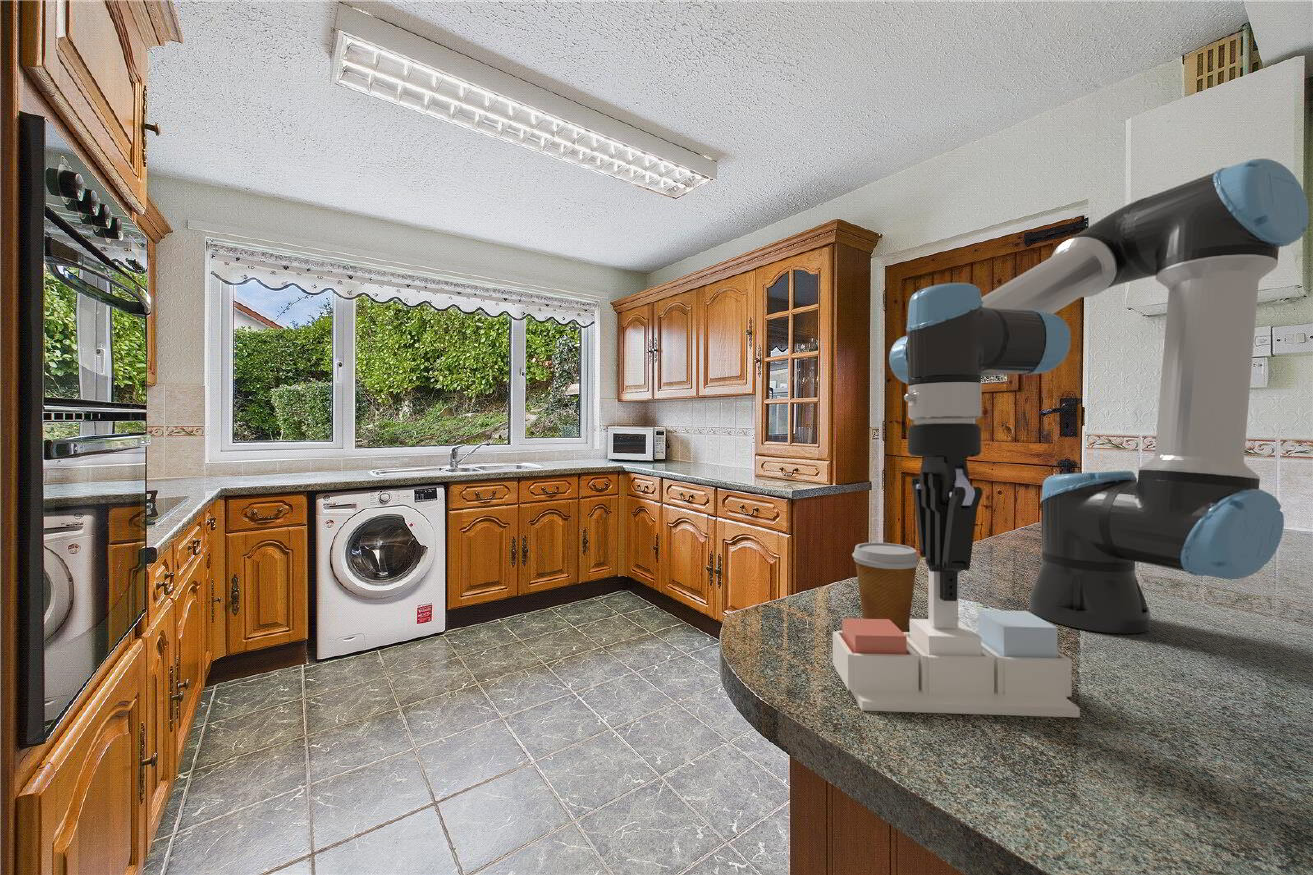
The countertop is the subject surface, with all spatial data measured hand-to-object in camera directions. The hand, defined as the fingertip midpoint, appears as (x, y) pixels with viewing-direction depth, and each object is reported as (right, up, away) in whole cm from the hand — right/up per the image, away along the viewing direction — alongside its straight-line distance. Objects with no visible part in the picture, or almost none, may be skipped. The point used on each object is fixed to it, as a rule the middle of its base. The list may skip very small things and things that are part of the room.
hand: (943, 625), depth 64 cm
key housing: (0, -7, 0) cm, 7 cm away
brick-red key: (-8, -4, +1) cm, 9 cm away
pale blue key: (+8, -3, -1) cm, 9 cm away
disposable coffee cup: (+2, -7, +20) cm, 21 cm away
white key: (0, -4, 0) cm, 4 cm away
